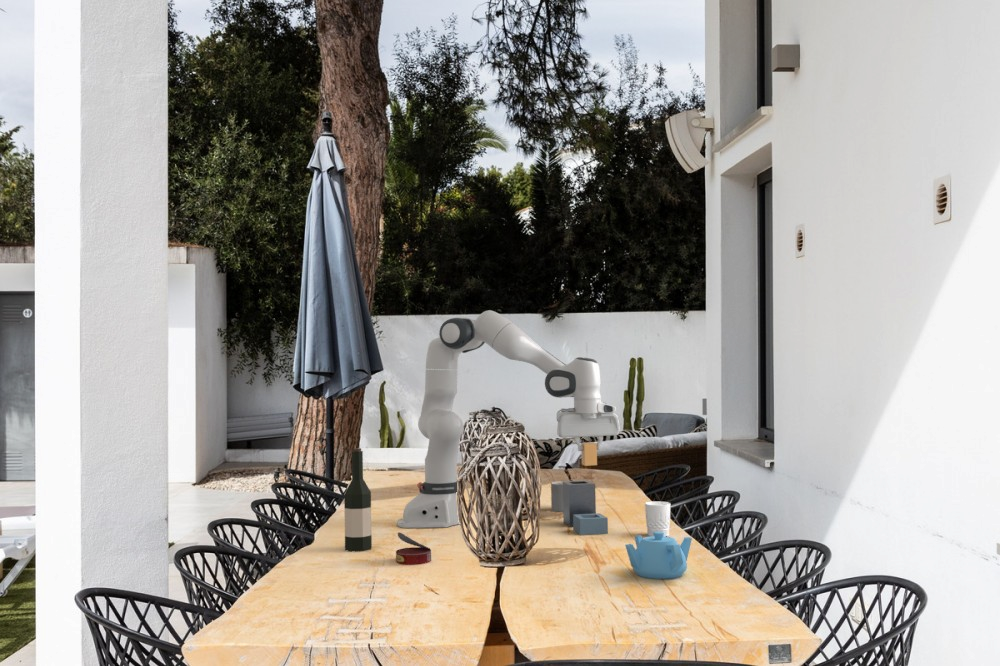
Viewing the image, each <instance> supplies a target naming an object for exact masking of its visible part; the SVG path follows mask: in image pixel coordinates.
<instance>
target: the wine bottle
mask: <svg viewBox="0 0 1000 666" xmlns="http://www.w3.org/2000/svg"><path fill="white" fill-rule="evenodd" d="M363 453H364V451H363V450H362V448H361V447H357V448H356V447H355V448H352V451H351V481H350V482H349V485H348V487H347V488H346V490H345V493H344V495H343V496H344V551H346V550H348V551H347V552H352V551H355V552H366V551H370V550H372V548H373V547H372V545H373V544H372V543H373V542H372V541H373V540H372V537H373V536H372V491H371V489H370V488H369V486H368V485H367V483H366V482H365V480H364V466H363V465H364V464H363V463H364V460H363V459H364V458H363V455H364V454H363Z"/></svg>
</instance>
